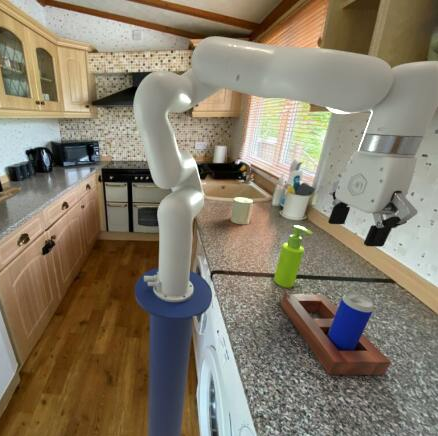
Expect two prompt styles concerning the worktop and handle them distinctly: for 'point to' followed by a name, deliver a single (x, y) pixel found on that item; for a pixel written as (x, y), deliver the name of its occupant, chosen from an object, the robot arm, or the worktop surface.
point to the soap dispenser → (290, 258)
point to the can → (241, 210)
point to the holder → (319, 342)
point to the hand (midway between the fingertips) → (352, 233)
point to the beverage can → (350, 321)
